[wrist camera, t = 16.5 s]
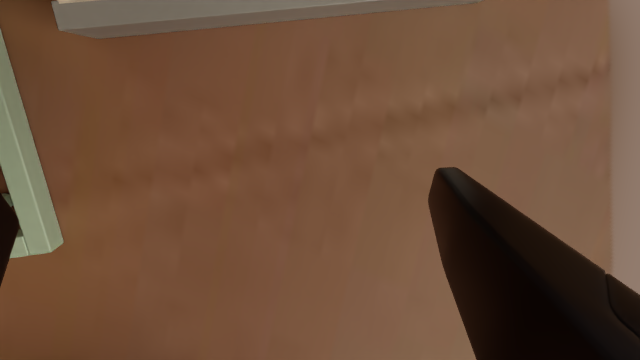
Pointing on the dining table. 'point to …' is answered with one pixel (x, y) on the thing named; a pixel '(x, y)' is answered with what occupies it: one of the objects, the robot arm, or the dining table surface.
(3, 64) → the dish rack
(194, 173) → the dining table surface
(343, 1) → the cream bevelled block
